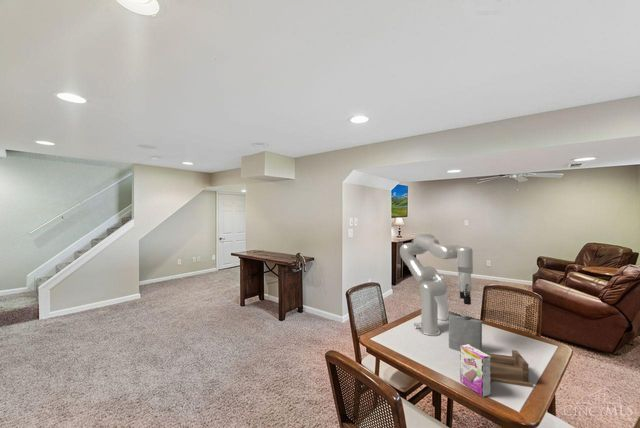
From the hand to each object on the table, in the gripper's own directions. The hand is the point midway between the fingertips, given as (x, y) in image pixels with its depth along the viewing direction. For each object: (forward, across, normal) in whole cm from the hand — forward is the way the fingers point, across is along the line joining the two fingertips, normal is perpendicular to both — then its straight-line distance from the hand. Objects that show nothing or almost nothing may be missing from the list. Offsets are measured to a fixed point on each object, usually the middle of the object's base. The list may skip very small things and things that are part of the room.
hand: (465, 301), depth 145 cm
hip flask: (+27, 0, 0) cm, 27 cm away
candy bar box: (+28, +32, -3) cm, 43 cm away
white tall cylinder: (+27, -46, -6) cm, 53 cm away
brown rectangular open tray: (+27, +18, +9) cm, 34 cm away
